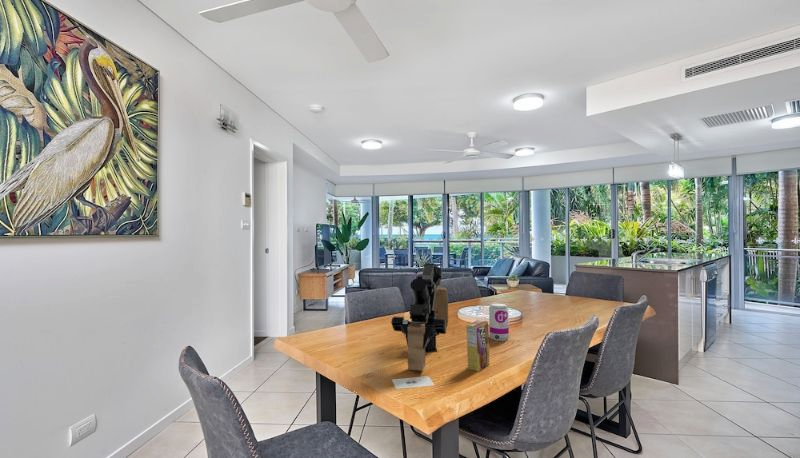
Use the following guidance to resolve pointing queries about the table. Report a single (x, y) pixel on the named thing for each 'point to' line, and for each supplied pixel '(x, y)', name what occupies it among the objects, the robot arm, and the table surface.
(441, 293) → the block
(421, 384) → the tile
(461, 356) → the table surface
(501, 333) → the supplement can
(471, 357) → the candy box
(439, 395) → the table surface
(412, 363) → the walnut block
